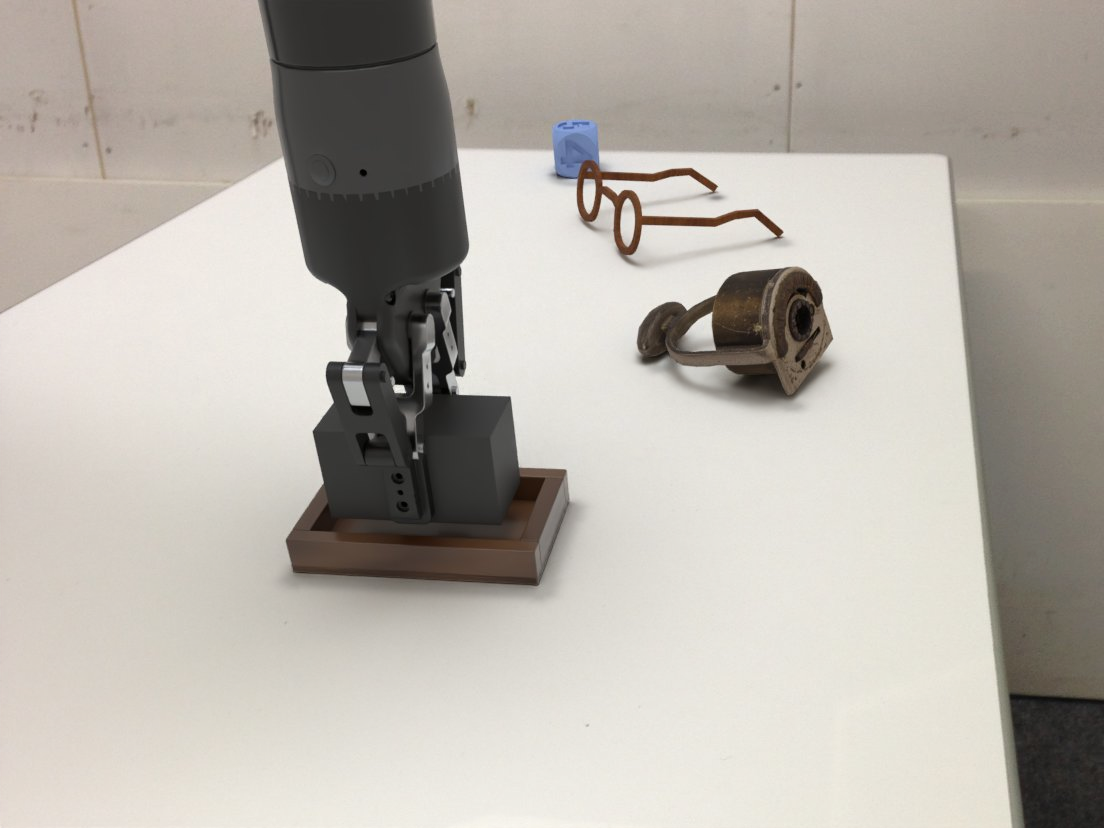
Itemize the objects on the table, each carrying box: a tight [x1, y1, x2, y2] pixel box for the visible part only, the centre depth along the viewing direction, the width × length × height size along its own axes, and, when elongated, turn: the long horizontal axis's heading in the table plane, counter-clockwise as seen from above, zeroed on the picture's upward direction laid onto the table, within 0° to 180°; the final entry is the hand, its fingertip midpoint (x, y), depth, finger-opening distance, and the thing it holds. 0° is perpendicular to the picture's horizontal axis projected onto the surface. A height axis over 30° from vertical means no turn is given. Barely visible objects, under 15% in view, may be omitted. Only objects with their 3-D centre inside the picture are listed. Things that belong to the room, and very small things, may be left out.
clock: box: [311, 393, 521, 525], centre depth 65 cm, size 9×4×5 cm, turn 81°
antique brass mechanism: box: [636, 265, 834, 396], centre depth 81 cm, size 7×13×10 cm
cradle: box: [285, 466, 570, 586], centre depth 68 cm, size 13×8×2 cm, turn 81°
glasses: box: [576, 160, 784, 256], centre depth 102 cm, size 13×13×5 cm
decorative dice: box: [551, 118, 601, 179], centre depth 115 cm, size 4×4×4 cm
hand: (427, 492), depth 67 cm, fingers closed on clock, 4 cm apart
